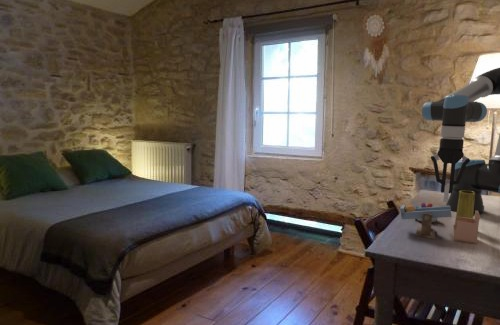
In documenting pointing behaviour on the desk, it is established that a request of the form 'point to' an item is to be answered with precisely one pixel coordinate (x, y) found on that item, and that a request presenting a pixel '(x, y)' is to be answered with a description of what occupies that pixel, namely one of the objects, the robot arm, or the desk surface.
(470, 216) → the vase
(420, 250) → the desk surface
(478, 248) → the desk surface
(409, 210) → the ball
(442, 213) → the lever
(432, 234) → the fulcrum
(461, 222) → the pink square box
